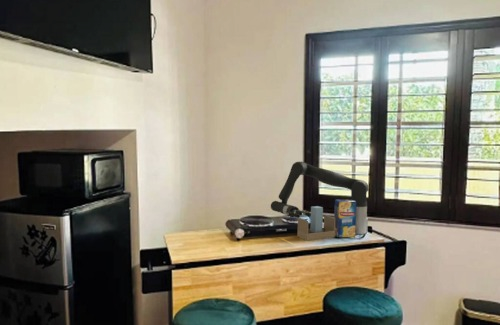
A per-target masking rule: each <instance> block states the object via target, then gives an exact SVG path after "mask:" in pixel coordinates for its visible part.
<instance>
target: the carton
mask: <svg viewBox="0 0 500 325" xmlns="http://www.w3.org/2000/svg"><path fill="white" fill-rule="evenodd" d="M323 227H324V228H322V232H319V233H310V228H309V220H306V219H303V218H301V217H299V218H297V232H296V233H297V238H300V239H301V240H304V241H306V242H310V241H316V240H325V239H333V238H336V235H335V218H334V217H331V216H329V215H324V214H323Z"/></svg>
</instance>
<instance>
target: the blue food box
mask: <svg viewBox="0 0 500 325" xmlns="http://www.w3.org/2000/svg"><path fill="white" fill-rule="evenodd" d="M333 214H334V217H333V218H335V237H337V238H356V234H355V226H356V201H354V200H351V199H334V213H333Z"/></svg>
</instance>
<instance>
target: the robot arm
mask: <svg viewBox="0 0 500 325" xmlns="http://www.w3.org/2000/svg"><path fill="white" fill-rule="evenodd" d="M300 176H305V177H306V176H307V177H311V178H313V179H315V180H317V181H318V182H320V183H323V184H325V185H327V186H332V187H337V188H344V189H347V190H350V192H351V196H350V197H351V198H350V200H354V201H356V226H355V235H366V234H367V233H368V225H369V224H368V223H369V222H368V221H369V219H368V213H367V212H368V201H367V193H368V191H369V189H370V187H369V184H368V182H366V181H365V180H363V179H358V178H357V179H356V178H352V177H349V176H346V175H344V174H341V173H338V172H335V171H333V170H330V169H327V168H326V169H325V168H321V167H317V166H313V165H311V164H309V163H307V162H304V161H295V162H294V163H292V166H291V168H290V171H289V174H288V177H287V178H286V180H285V183H284V185H283V186H282V189H281V191H280V192H279V194H278V199H280V200H281V201H278V200H274V201H272V202H271V204H270V209H271V210H272V211H274V212H277V213H280V214H283V215H285V216H287V217H289V216H290V218H292V217H296V218H297V219H298V218H301V217H305V216H306V217H309V218H311V211H308V210H305V209H304V210H303V209H299V207H298V206H295V205H291V204H288V201H289V198H290V196H291V195H292V193H293V190H294V188H295V184H296V182H297V180H298V179H299V178H300Z"/></svg>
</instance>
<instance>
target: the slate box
mask: <svg viewBox="0 0 500 325" xmlns="http://www.w3.org/2000/svg"><path fill="white" fill-rule="evenodd" d="M310 213H311V217H310V228H309V229H310V233H319V232H322V227H323V224H324V214H323V213H324V207H323V206H319V205H316V206H310Z"/></svg>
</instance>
